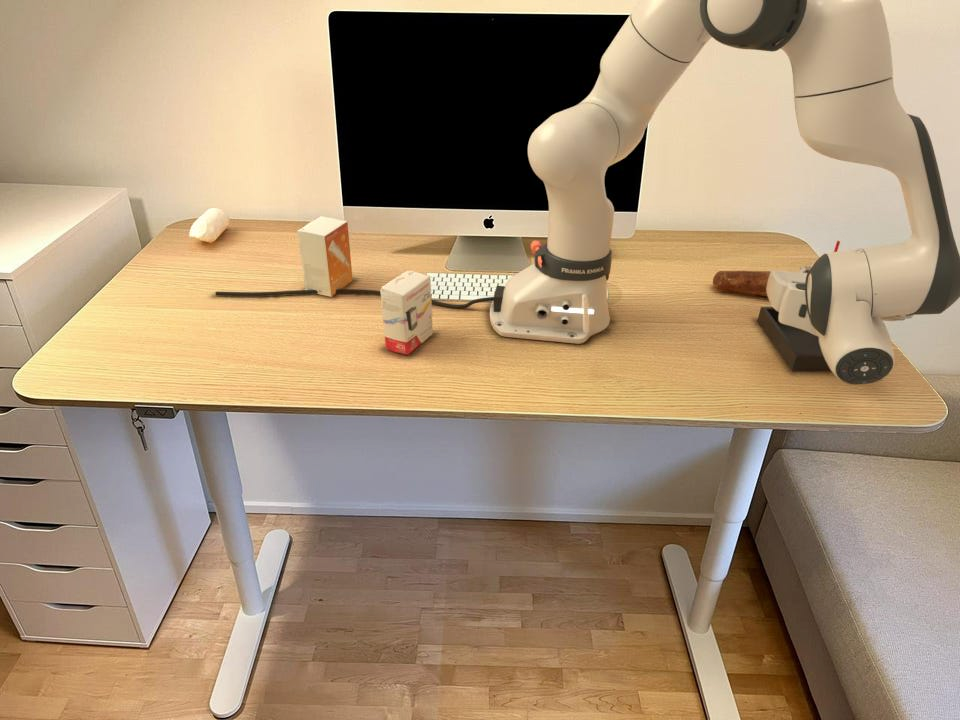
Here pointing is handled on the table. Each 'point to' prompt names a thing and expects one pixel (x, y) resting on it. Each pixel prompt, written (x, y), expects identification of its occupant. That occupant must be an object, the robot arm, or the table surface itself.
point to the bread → (742, 281)
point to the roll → (209, 225)
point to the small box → (325, 255)
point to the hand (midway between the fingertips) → (827, 272)
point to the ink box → (407, 311)
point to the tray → (793, 343)
